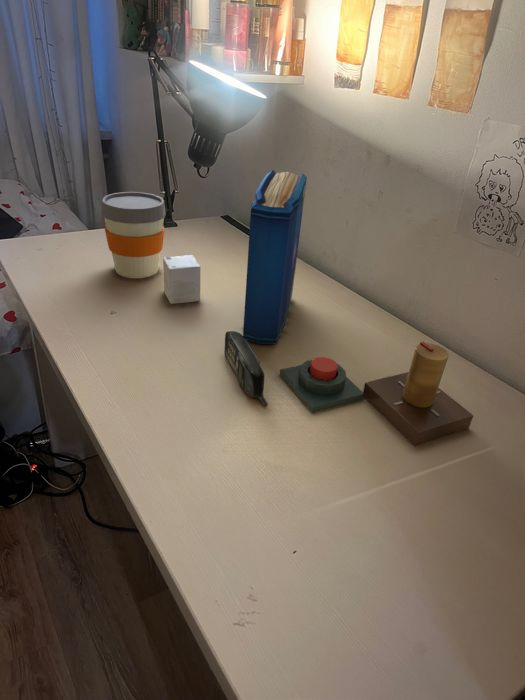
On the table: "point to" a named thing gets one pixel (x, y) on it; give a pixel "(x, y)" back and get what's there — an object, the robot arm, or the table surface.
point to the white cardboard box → (181, 279)
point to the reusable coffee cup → (134, 232)
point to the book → (272, 254)
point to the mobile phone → (245, 365)
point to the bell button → (323, 368)
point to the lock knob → (425, 374)
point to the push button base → (320, 388)
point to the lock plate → (416, 411)
